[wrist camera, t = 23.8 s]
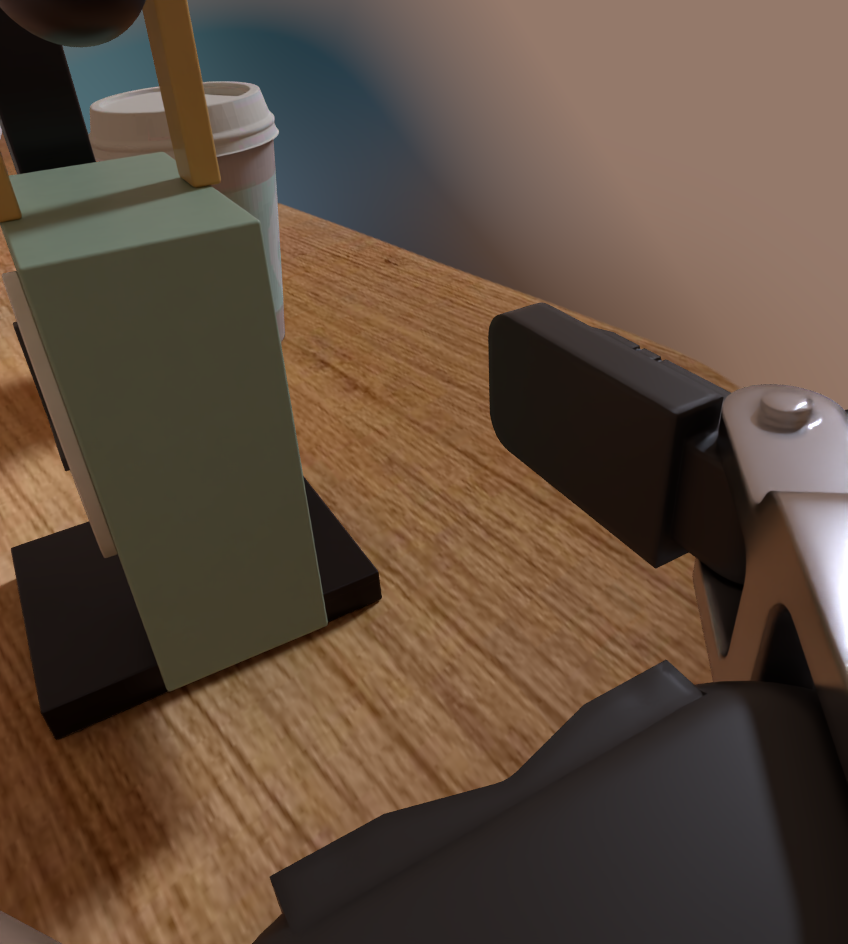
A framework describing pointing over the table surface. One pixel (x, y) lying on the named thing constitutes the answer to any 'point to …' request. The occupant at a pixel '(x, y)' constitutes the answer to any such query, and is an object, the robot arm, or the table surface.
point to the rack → (76, 549)
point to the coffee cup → (236, 143)
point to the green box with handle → (169, 380)
